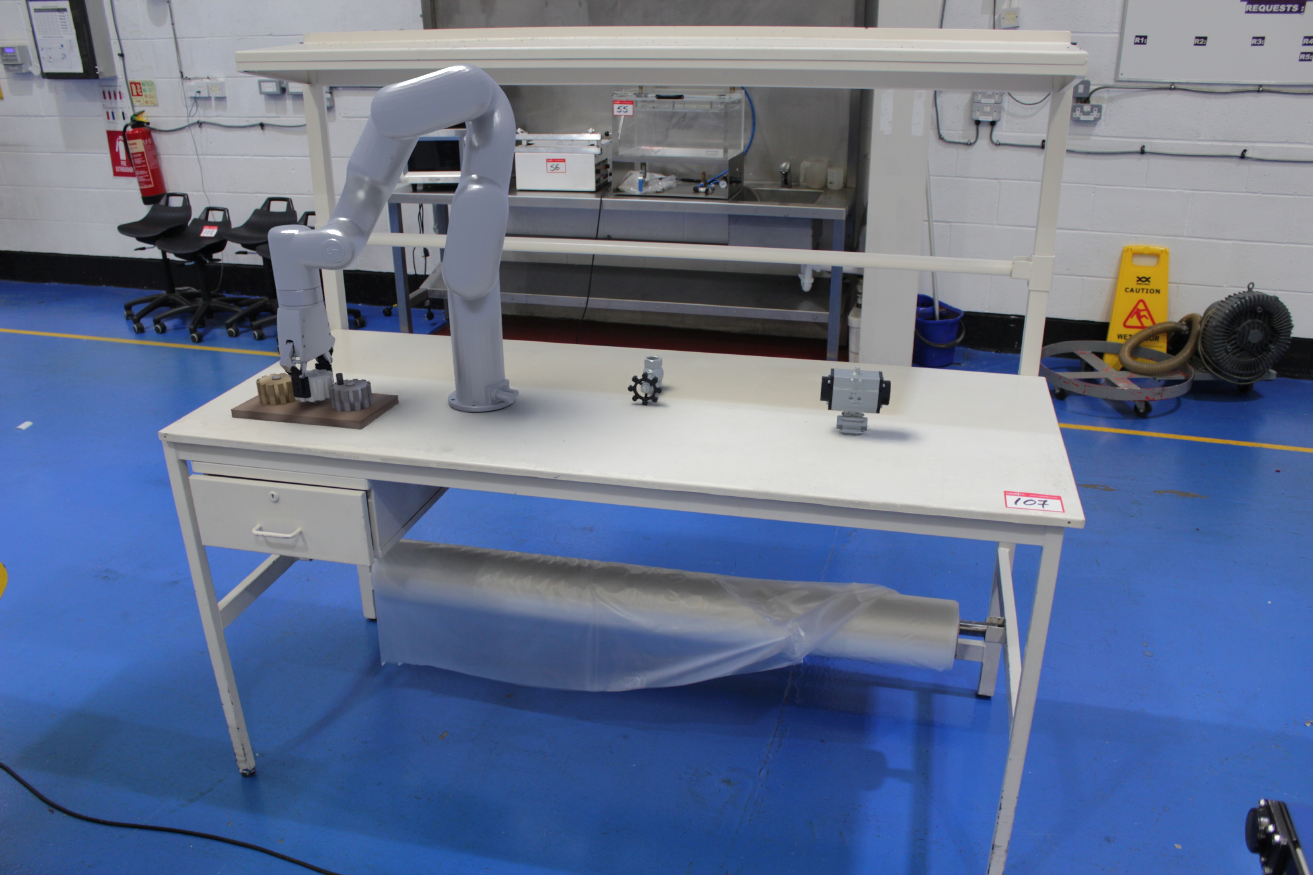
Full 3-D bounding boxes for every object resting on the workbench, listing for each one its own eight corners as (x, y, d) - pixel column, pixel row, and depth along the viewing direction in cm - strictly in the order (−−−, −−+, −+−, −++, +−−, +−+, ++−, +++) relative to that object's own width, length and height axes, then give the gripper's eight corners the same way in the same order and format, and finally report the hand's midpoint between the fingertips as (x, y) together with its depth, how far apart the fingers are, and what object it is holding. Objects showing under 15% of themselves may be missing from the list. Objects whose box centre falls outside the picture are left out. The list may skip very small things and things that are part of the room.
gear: (343, 393, 164) (340, 373, 163) (310, 404, 159) (307, 383, 158) (319, 386, 168) (316, 366, 167) (286, 396, 163) (283, 376, 161)
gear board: (398, 402, 168) (394, 365, 166) (361, 429, 156) (355, 389, 153) (278, 392, 174) (272, 356, 171) (232, 417, 161) (224, 378, 158)
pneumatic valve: (817, 424, 159) (823, 361, 154) (884, 429, 157) (891, 365, 152) (817, 436, 154) (822, 371, 149) (885, 441, 152) (893, 375, 147)
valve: (639, 385, 179) (627, 405, 168) (638, 354, 177) (627, 372, 166) (670, 387, 178) (661, 407, 167) (671, 355, 176) (661, 374, 165)
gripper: (309, 285, 165) (322, 374, 172) (250, 306, 149) (268, 404, 156) (345, 287, 163) (357, 377, 170) (290, 309, 148) (305, 408, 155)
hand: (314, 389), depth 163 cm, fingers closed on gear, 6 cm apart
